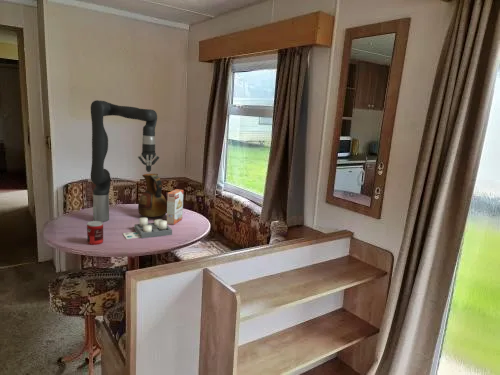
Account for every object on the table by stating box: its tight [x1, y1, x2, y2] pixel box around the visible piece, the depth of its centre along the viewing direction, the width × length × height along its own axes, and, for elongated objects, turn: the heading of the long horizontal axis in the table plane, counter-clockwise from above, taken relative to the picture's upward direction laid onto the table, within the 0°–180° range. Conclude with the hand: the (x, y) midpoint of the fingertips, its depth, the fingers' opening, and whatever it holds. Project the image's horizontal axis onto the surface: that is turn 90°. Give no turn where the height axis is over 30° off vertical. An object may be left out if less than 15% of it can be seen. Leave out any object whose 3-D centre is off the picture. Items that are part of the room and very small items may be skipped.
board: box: [133, 222, 173, 239], centre depth 212 cm, size 18×17×3 cm
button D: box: [159, 219, 168, 230], centre depth 210 cm, size 5×5×5 cm
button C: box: [143, 225, 152, 232], centre depth 206 cm, size 5×5×5 cm
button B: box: [153, 218, 162, 226], centre depth 218 cm, size 5×5×5 cm
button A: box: [138, 216, 149, 227], centre depth 213 cm, size 5×5×5 cm
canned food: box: [86, 220, 104, 246], centre depth 189 cm, size 8×8×11 cm
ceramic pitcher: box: [137, 173, 167, 218], centre depth 240 cm, size 20×20×30 cm
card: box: [122, 231, 142, 240], centre depth 204 cm, size 9×9×1 cm
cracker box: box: [166, 188, 184, 226], centre depth 233 cm, size 14×6×21 cm, turn 168°
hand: (148, 171), depth 215 cm, fingers closed
